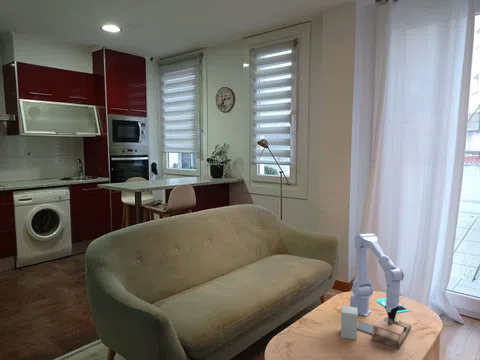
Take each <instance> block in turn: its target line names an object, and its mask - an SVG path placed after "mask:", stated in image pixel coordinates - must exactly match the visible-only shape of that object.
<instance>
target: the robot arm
mask: <svg viewBox="0 0 480 360" xmlns="http://www.w3.org/2000/svg"><path fill="white" fill-rule="evenodd" d="M354 248H355V254H356V274H357V275H356V277H357V278H356V279H354V280H353V281H352V287H351V292H352V293H351V294H350V295H351V296H350V298H349V307H355V308H357V311H358V315H360V316H363V317H368V315H369V314H370V313H371V312H372V309H370V298H371V296H373V293H374V287H373V284H372V283H373V282H372V281H370V280H369V279H368V261H367V259H368V258H367V256H368V255H367V250H368V249H370V250H371V251H372V252H373V254H374V255H375V256H376V257H377V259H378V260H377V263H378V265H380V268H382V270H383V272H384V278H385V283H386V291H385V292H386V293H385V296H386V297H385V298H386V302H385V303H386V306H385V307H384V309H385V312H386V313H387V317H388V318H392V319H393V322H394V320H395V317H397V314H398V313H397V311H398V309H399V308H400V307H401V306H403V305H402V303H401V302H400V294H401V281H403V280H404V278H405V277H404V276H405V275H404V272H403V271H404V270H402V268H400V267H398V266H396V265H395V264H394V262H393V260H392V259H391V258H390V256H388V255H385V253H384V252H383V249H382V247H381V246H380V245H379V239H378V237H377V235H376V233H373V232H371V233H358V234H356V235H355V236H354Z"/></svg>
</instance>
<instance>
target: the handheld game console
mask: <svg viewBox="0 0 480 360" xmlns="http://www.w3.org/2000/svg"><path fill="white" fill-rule="evenodd" d="M376 302H377V303H378V304H379V305H381V306H382V307H384V308H385V306H386V303H385V302H386V297H385V298H384V297H383V298H379V299H377V300H376ZM408 312H409V309H407V308H406V307H405V306H403V305H402V306H401V307H400V308H399V309H398V311H397V313H396V314H401V313H408Z"/></svg>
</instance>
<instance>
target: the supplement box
mask: <svg viewBox="0 0 480 360" xmlns="http://www.w3.org/2000/svg"><path fill="white" fill-rule="evenodd" d="M358 316H359V314H358V311H357V308H355V307H350V306H349V305H347V306H346V305H342V307H341V326H340V327H341V328H340V337H341V338H344V339H345V338H346V339H350V340H356V341H357V340H358V330H357V326H358V322H359V321H358V318H359V317H358Z"/></svg>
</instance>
